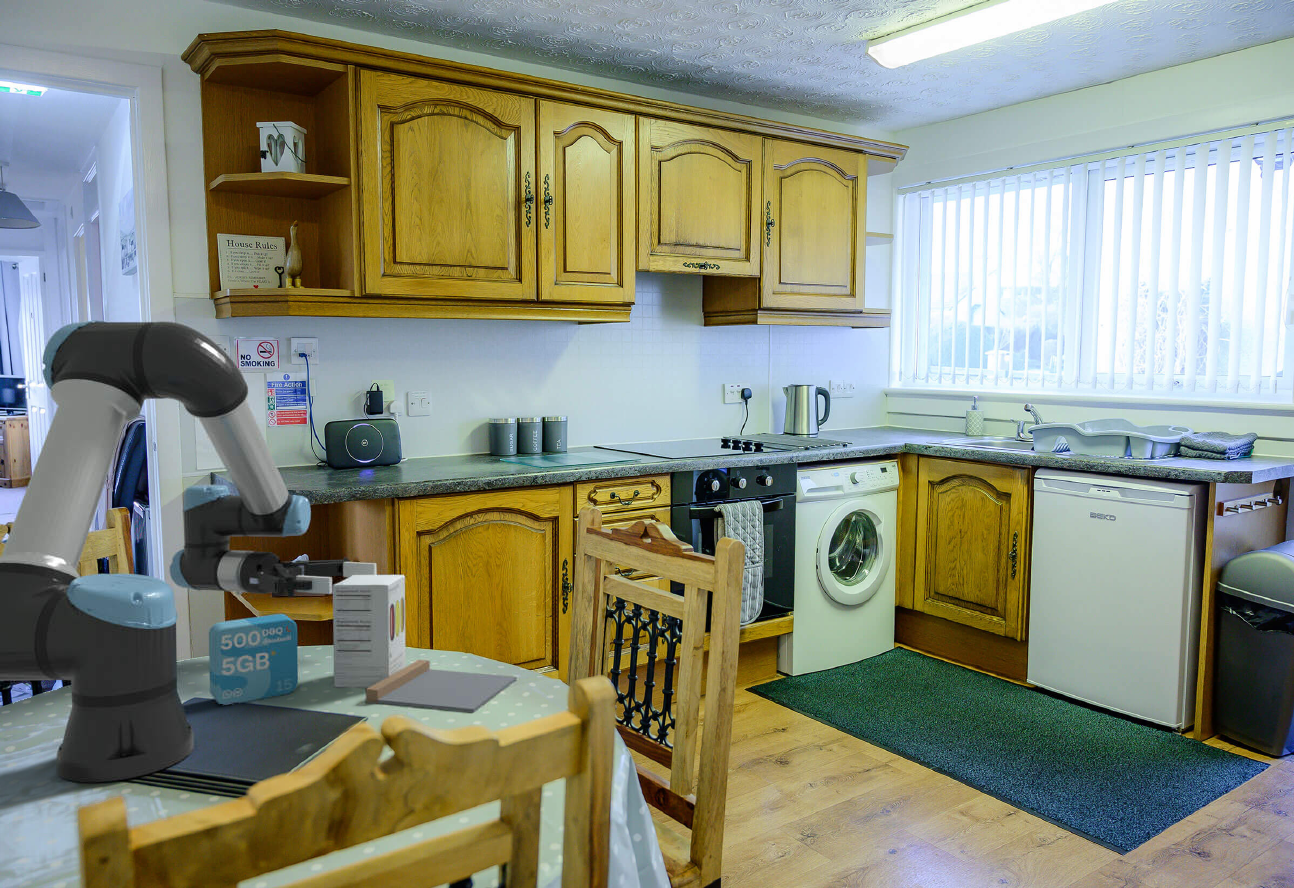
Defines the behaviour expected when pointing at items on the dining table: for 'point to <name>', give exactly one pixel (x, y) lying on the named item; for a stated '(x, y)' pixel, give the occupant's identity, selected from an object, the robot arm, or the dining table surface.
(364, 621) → the supplement box
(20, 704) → the dining table surface
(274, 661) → the data package
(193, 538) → the robot arm
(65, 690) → the dining table surface
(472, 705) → the topple mat
